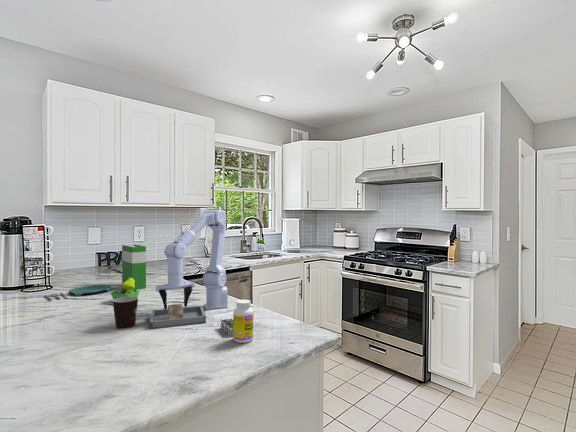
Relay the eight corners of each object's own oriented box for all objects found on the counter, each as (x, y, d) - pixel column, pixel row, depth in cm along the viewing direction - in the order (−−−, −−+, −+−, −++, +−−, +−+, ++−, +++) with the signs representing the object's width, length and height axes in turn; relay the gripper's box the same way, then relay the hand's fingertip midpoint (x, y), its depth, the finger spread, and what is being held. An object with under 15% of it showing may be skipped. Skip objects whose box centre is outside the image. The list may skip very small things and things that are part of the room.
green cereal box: (122, 285, 194) (122, 245, 194) (135, 283, 199) (135, 244, 199) (132, 290, 182) (132, 247, 182) (146, 288, 187) (145, 246, 187)
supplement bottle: (244, 345, 104) (244, 305, 104) (229, 341, 108) (229, 302, 108) (257, 338, 110) (257, 300, 110) (242, 334, 114) (242, 297, 114)
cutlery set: (116, 292, 179) (116, 287, 179) (49, 303, 157) (49, 298, 157) (104, 286, 193) (104, 283, 193) (41, 296, 171) (41, 292, 171)
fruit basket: (109, 303, 156) (109, 279, 156) (125, 298, 164) (125, 276, 164) (127, 305, 151) (127, 281, 151) (142, 300, 160) (142, 277, 160)
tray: (202, 311, 141) (202, 305, 141) (205, 322, 126) (205, 316, 126) (152, 316, 135) (152, 310, 135) (149, 328, 120) (149, 322, 120)
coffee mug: (127, 330, 118) (127, 302, 118) (107, 329, 120) (107, 301, 120) (147, 320, 129) (147, 295, 129) (128, 319, 131) (128, 294, 131)
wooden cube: (180, 315, 134) (180, 303, 134) (183, 319, 129) (183, 306, 129) (167, 317, 131) (167, 305, 131) (169, 321, 127) (169, 308, 127)
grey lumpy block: (248, 334, 115) (248, 322, 115) (228, 338, 111) (228, 326, 111) (238, 325, 124) (238, 314, 124) (218, 328, 121) (218, 317, 121)
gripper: (191, 270, 137) (191, 302, 137) (154, 273, 130) (154, 307, 130) (195, 272, 131) (195, 306, 131) (157, 276, 124) (157, 312, 124)
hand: (175, 307), depth 130 cm, fingers open, 7 cm apart
